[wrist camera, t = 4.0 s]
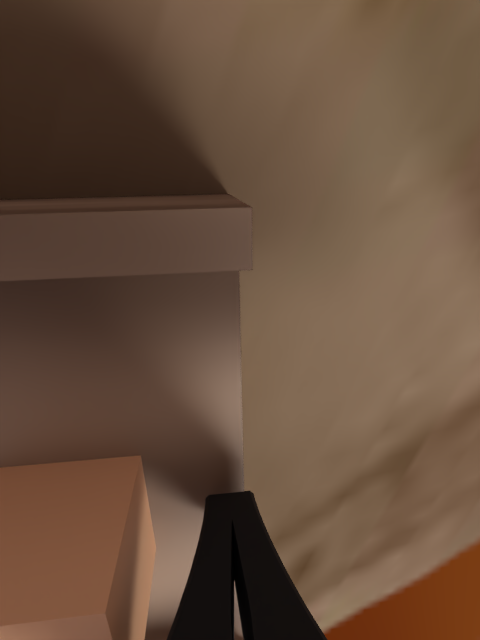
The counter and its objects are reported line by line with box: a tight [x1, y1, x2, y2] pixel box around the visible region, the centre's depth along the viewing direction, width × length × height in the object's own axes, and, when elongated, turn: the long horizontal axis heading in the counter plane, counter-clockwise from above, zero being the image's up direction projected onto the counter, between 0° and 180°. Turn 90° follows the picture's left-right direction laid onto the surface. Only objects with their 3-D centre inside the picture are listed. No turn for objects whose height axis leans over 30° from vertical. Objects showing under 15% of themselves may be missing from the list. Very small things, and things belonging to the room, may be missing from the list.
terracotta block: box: [0, 455, 156, 640], centre depth 9 cm, size 4×4×4 cm
